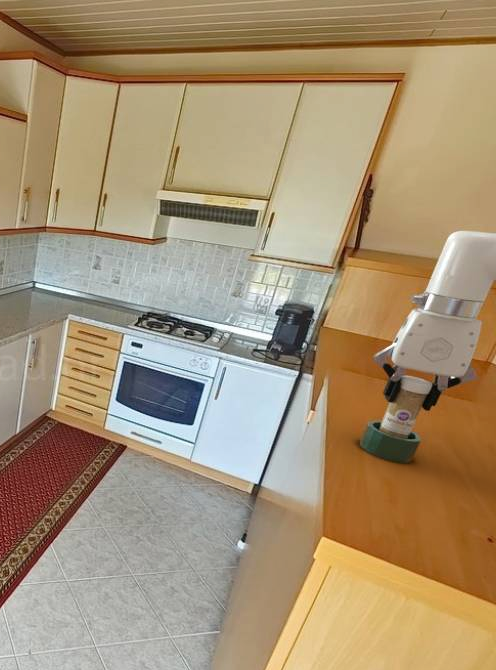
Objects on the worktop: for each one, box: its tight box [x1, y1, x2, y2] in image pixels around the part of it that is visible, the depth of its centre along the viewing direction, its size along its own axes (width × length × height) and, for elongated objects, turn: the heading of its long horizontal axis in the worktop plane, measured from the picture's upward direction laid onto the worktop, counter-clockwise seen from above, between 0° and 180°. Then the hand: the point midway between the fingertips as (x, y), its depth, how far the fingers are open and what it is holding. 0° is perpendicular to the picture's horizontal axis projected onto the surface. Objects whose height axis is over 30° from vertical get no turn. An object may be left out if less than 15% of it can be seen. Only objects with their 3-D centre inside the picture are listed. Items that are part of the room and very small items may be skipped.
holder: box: [359, 420, 423, 464], centre depth 92 cm, size 8×8×4 cm
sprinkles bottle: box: [379, 375, 433, 439], centre depth 90 cm, size 5×5×13 cm
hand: (406, 403), depth 89 cm, fingers closed on sprinkles bottle, 4 cm apart
